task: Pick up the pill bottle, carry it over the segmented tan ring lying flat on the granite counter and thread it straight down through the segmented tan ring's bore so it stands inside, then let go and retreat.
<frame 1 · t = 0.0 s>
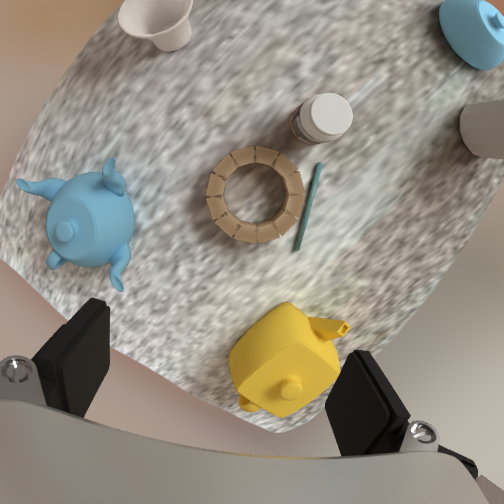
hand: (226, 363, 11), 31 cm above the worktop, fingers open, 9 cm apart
green stick: (308, 206, 41), on the worktop
pill bottle: (309, 125, 38), on the worktop
jar: (473, 130, 38), on the worktop
sugar bowl: (463, 36, 33), on the worktop
segmented tan ring: (254, 193, 40), on the worktop
cup: (170, 36, 33), on the worktop
teapot 2: (102, 211, 39), on the worktop
teapot: (283, 340, 47), on the worktop
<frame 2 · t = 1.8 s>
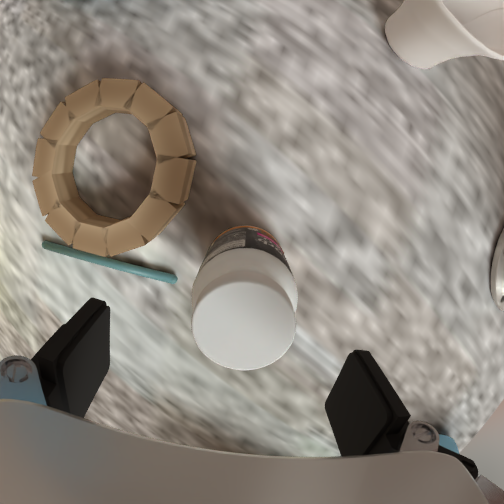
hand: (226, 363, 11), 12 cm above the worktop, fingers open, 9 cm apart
green stick: (104, 259, 22), on the worktop
pill bottle: (244, 260, 23), on the worktop
segmented tan ring: (116, 165, 20), on the worktop
cup: (411, 38, 18), on the worktop
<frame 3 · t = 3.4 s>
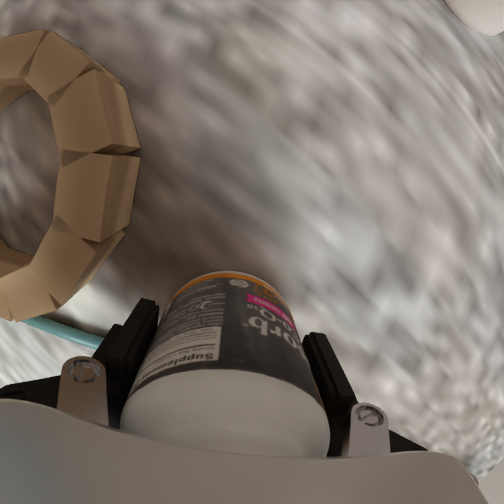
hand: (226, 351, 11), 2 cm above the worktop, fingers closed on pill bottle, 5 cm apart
green stick: (25, 312, 13), on the worktop
pill bottle: (227, 323, 13), on the worktop, touching gripper
segmented tan ring: (26, 172, 11), on the worktop
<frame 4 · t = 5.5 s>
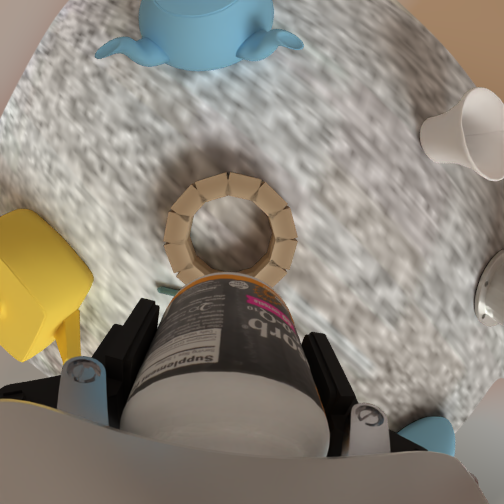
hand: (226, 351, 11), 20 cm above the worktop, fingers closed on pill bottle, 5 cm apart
green stick: (215, 300, 32), on the worktop
pill bottle: (227, 324, 13), point 18 cm above the worktop, touching gripper
sugar bowl: (412, 437, 43), on the worktop
segmented tan ring: (230, 234, 30), on the worktop
cup: (436, 136, 28), on the worktop
teapot 2: (215, 29, 24), on the worktop
teapot: (49, 275, 31), on the worktop
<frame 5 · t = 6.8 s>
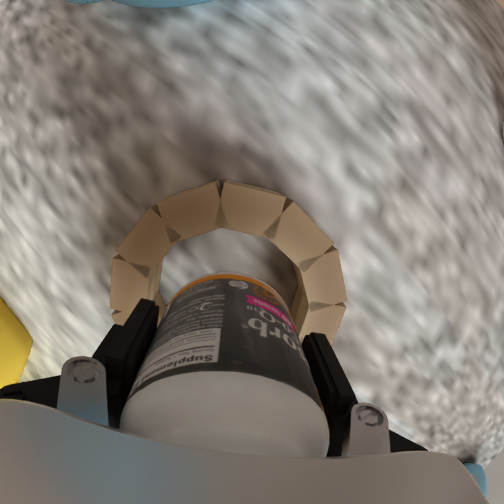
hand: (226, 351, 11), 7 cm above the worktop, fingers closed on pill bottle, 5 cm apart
pill bottle: (226, 324, 13), point 4 cm above the worktop, touching gripper
sugar bowl: (439, 485, 30), on the worktop
segmented tan ring: (227, 287, 18), on the worktop
when the fingers open (4 cm above the worktop, at t = 7.7 s): pill bottle drops 2 cm, resting in segmented tan ring.
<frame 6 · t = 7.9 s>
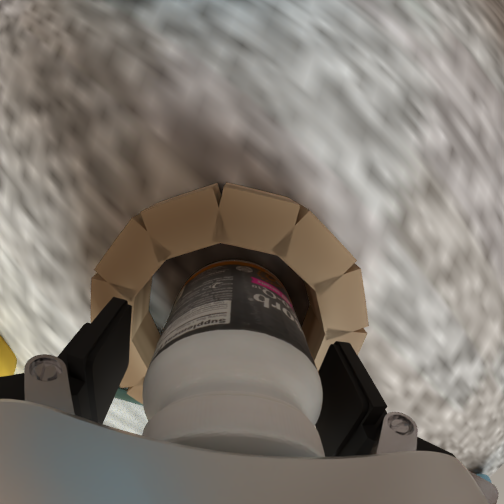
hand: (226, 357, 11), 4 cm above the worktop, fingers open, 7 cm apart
green stick: (204, 409, 17), on the worktop
pill bottle: (232, 308, 15), resting in segmented tan ring
segmented tan ring: (228, 308, 15), on the worktop
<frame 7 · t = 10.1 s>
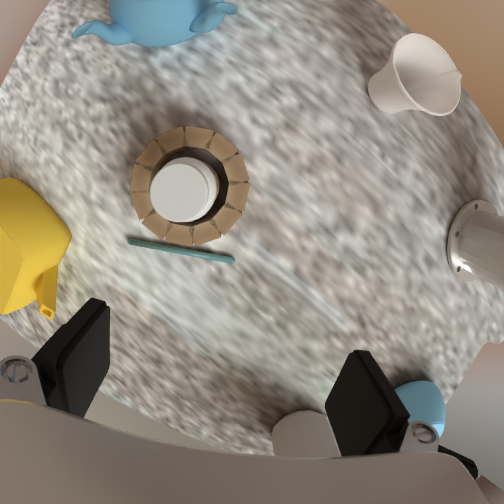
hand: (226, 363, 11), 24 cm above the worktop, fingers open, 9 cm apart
green stick: (180, 249, 34), on the worktop
pill bottle: (193, 185, 32), resting in segmented tan ring
jar: (299, 425, 44), on the worktop
sugar bowl: (399, 405, 45), on the worktop
segmented tan ring: (191, 184, 32), on the worktop
cup: (385, 90, 30), on the worktop
teapot 2: (175, 13, 26), on the worktop
teapot: (33, 239, 32), on the worktop
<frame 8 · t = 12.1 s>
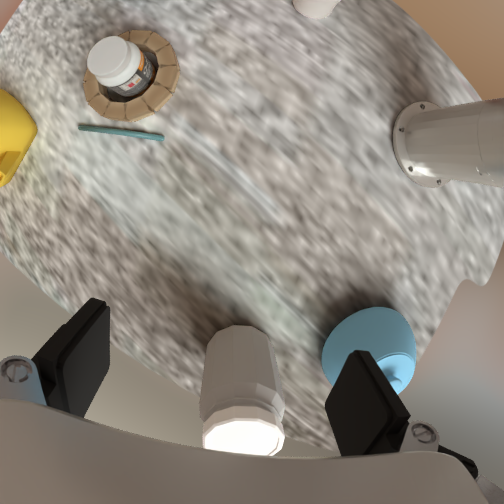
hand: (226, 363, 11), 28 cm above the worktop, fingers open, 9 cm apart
green stick: (119, 132, 34), on the worktop
pill bottle: (136, 78, 32), resting in segmented tan ring
jar: (239, 348, 43), on the worktop
sugar bowl: (362, 343, 44), on the worktop
segmented tan ring: (134, 78, 32), on the worktop
cup: (312, 3, 30), on the worktop
teapot: (8, 139, 32), on the worktop
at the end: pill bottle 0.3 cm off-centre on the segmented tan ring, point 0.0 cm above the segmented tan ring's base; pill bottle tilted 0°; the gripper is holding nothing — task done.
